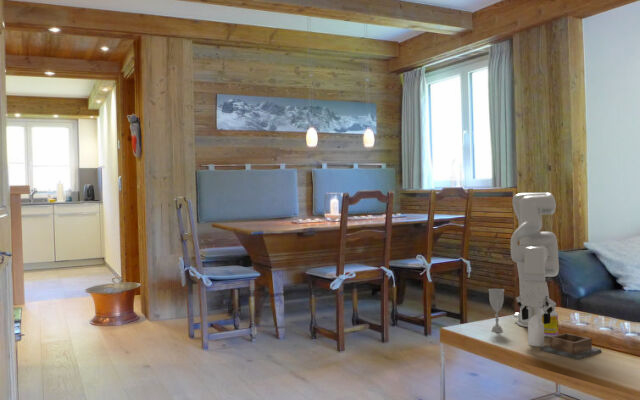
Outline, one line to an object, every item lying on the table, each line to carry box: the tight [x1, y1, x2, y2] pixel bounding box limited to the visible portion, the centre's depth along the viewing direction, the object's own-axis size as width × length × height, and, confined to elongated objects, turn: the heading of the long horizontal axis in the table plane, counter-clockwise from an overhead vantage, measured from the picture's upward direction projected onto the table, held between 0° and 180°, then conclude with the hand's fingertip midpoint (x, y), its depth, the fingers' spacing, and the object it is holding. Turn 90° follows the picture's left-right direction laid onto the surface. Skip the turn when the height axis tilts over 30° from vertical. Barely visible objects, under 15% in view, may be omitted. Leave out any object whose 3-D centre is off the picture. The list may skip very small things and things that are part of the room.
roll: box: [527, 314, 545, 347], centre depth 212 cm, size 6×12×6 cm
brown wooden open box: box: [540, 332, 602, 360], centre depth 203 cm, size 15×15×5 cm
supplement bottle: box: [541, 303, 559, 338], centre depth 225 cm, size 7×7×13 cm
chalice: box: [487, 288, 505, 333], centre depth 234 cm, size 7×7×18 cm
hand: (535, 321), depth 212 cm, fingers open, 9 cm apart
